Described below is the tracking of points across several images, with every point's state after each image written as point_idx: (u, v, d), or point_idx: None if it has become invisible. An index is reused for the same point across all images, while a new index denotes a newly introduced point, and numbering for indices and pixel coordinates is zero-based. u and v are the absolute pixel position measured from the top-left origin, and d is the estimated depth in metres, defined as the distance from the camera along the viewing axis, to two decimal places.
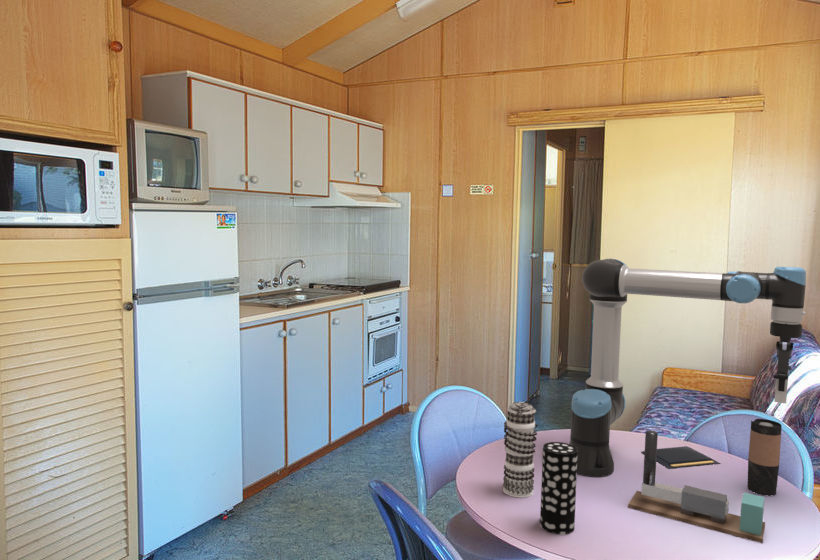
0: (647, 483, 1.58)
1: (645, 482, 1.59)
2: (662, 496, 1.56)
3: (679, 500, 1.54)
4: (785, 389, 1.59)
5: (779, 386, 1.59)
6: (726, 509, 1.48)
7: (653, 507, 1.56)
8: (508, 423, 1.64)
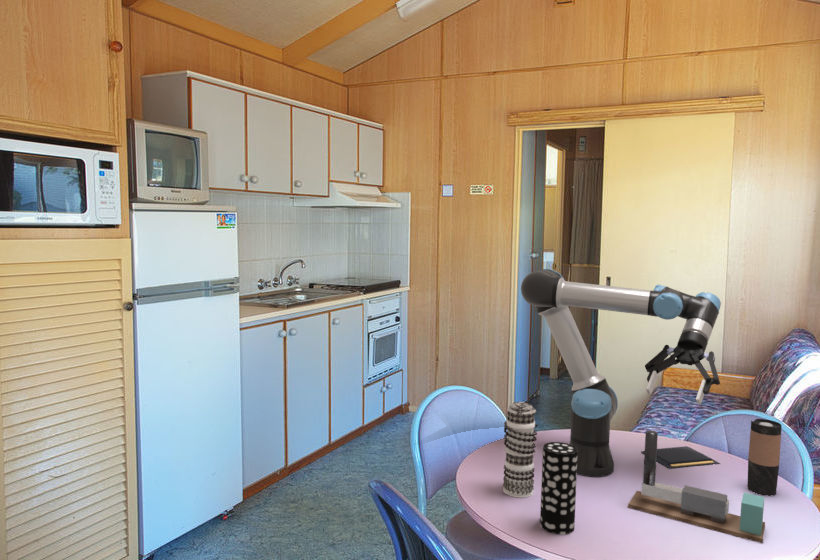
0: (647, 483, 1.58)
1: (645, 482, 1.59)
2: (662, 496, 1.56)
3: (679, 500, 1.54)
4: None
5: (708, 388, 1.62)
6: (726, 509, 1.48)
7: (653, 507, 1.56)
8: (508, 423, 1.64)
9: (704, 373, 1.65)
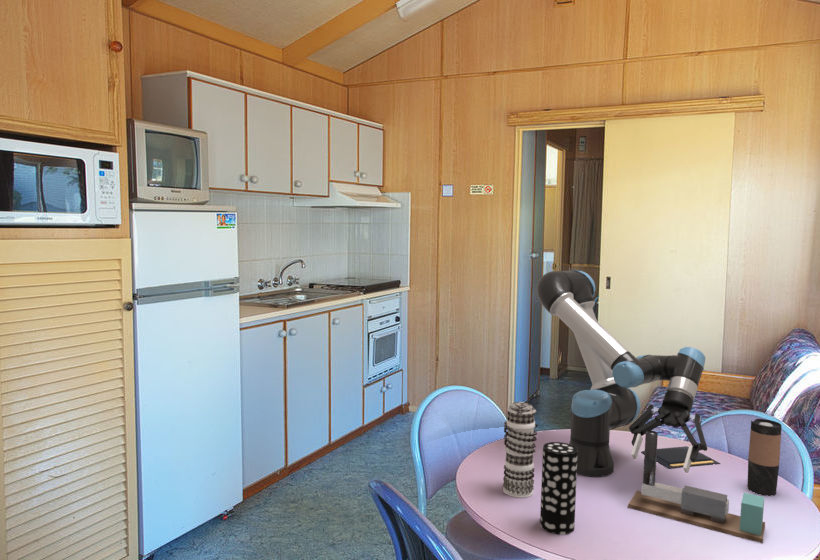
0: (647, 483, 1.58)
1: (645, 482, 1.59)
2: (662, 496, 1.56)
3: (679, 500, 1.54)
4: None
5: (695, 455, 1.54)
6: (726, 509, 1.48)
7: (653, 507, 1.56)
8: (508, 423, 1.64)
9: (691, 438, 1.57)
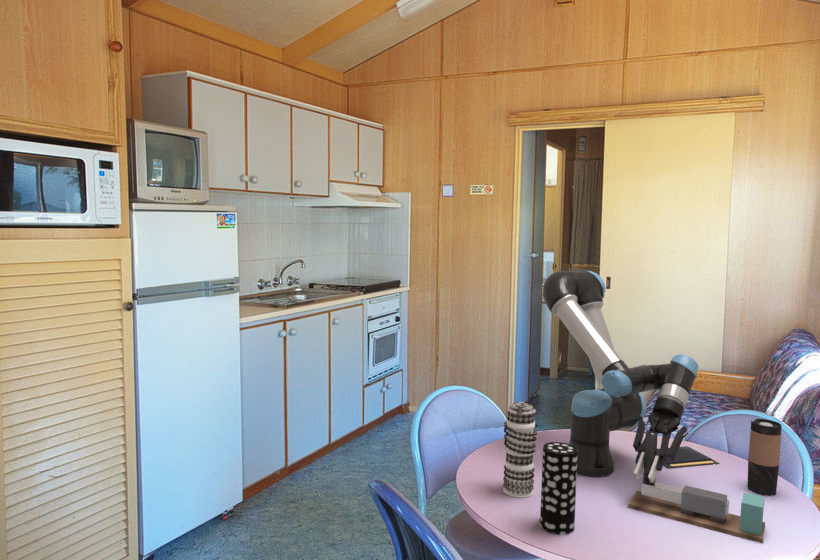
0: (647, 483, 1.58)
1: (645, 482, 1.59)
2: (662, 496, 1.56)
3: (679, 500, 1.54)
4: None
5: (661, 465, 1.56)
6: (726, 509, 1.48)
7: (653, 507, 1.56)
8: (508, 423, 1.64)
9: (662, 447, 1.58)
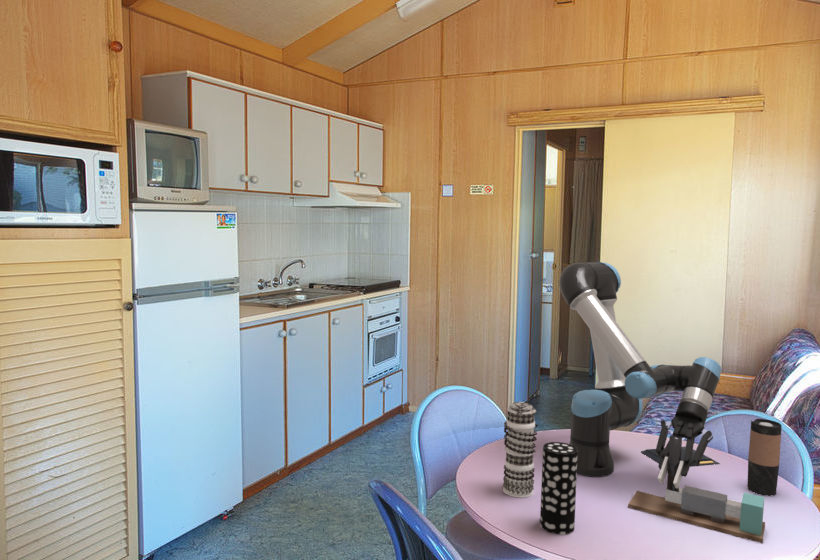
0: (671, 489, 1.55)
1: (669, 488, 1.55)
2: None
3: None
4: None
5: (686, 470, 1.52)
6: None
7: (653, 507, 1.56)
8: (508, 423, 1.64)
9: (686, 452, 1.55)
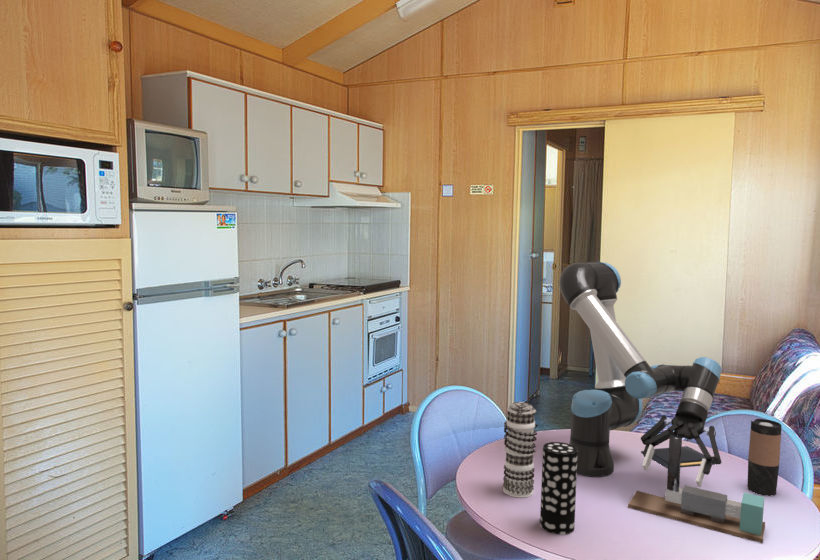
0: (671, 489, 1.55)
1: (669, 488, 1.55)
2: None
3: None
4: None
5: (709, 468, 1.50)
6: None
7: (653, 507, 1.56)
8: (508, 423, 1.64)
9: (704, 451, 1.53)
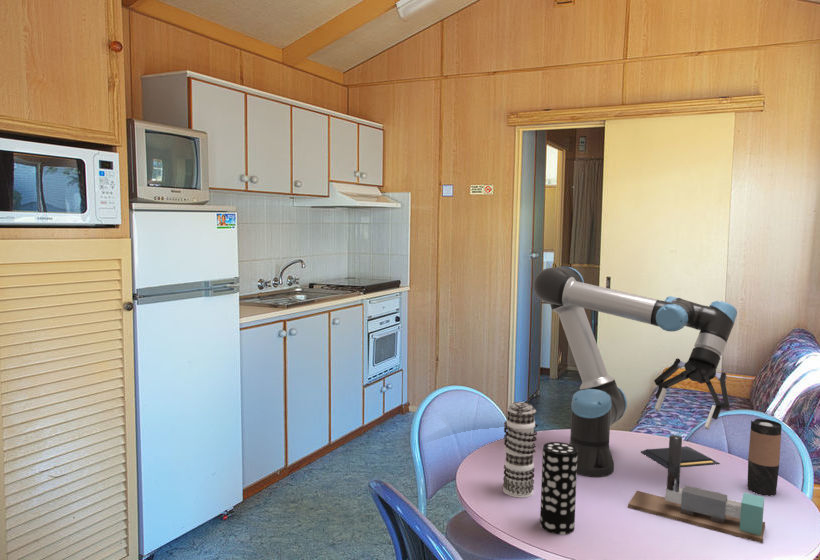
0: (671, 489, 1.55)
1: (669, 488, 1.55)
2: None
3: None
4: None
5: (717, 414, 1.61)
6: None
7: (653, 507, 1.56)
8: (508, 423, 1.64)
9: (715, 397, 1.63)
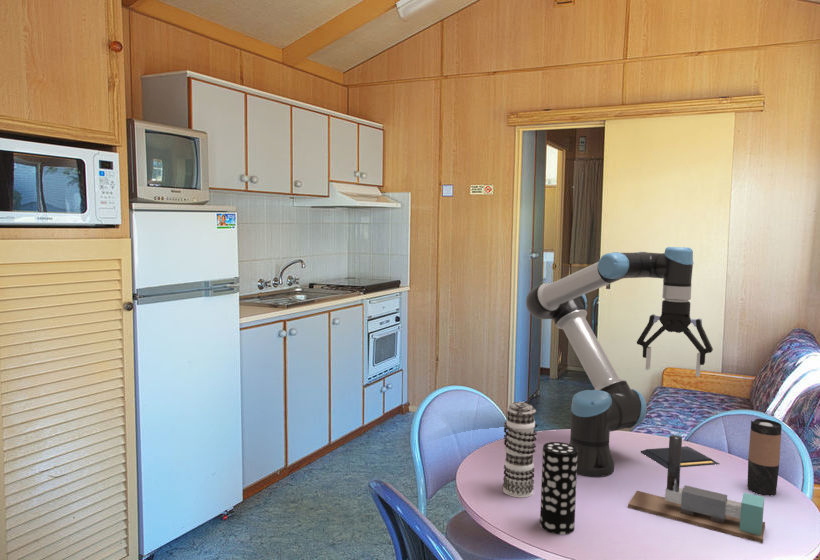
0: (671, 489, 1.55)
1: (669, 488, 1.55)
2: None
3: None
4: None
5: (704, 360, 1.68)
6: None
7: (653, 507, 1.56)
8: (508, 423, 1.64)
9: (697, 346, 1.68)
